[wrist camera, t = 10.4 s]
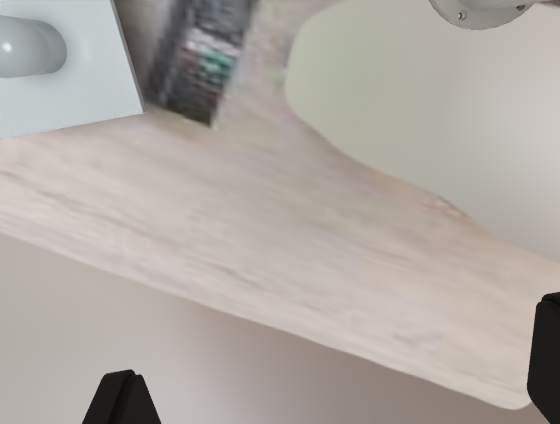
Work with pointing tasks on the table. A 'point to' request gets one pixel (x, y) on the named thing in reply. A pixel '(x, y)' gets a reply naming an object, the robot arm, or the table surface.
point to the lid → (63, 66)
